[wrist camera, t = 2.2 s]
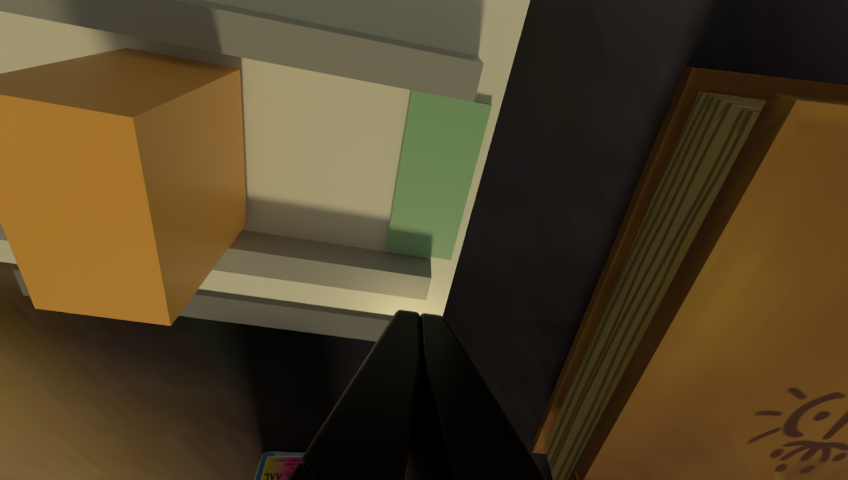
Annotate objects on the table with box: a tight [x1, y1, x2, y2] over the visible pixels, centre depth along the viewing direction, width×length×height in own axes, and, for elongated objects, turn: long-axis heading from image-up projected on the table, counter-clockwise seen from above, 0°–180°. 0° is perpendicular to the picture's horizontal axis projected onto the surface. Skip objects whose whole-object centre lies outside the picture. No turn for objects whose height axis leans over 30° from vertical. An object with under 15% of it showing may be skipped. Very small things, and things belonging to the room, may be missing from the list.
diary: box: [531, 66, 848, 480], centre depth 19 cm, size 23×19×6 cm
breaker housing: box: [0, 0, 530, 316], centre depth 14 cm, size 18×12×4 cm, turn 79°
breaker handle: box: [0, 48, 247, 326], centre depth 10 cm, size 3×5×5 cm, turn 169°
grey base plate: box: [13, 266, 393, 341], centre depth 15 cm, size 18×18×1 cm
